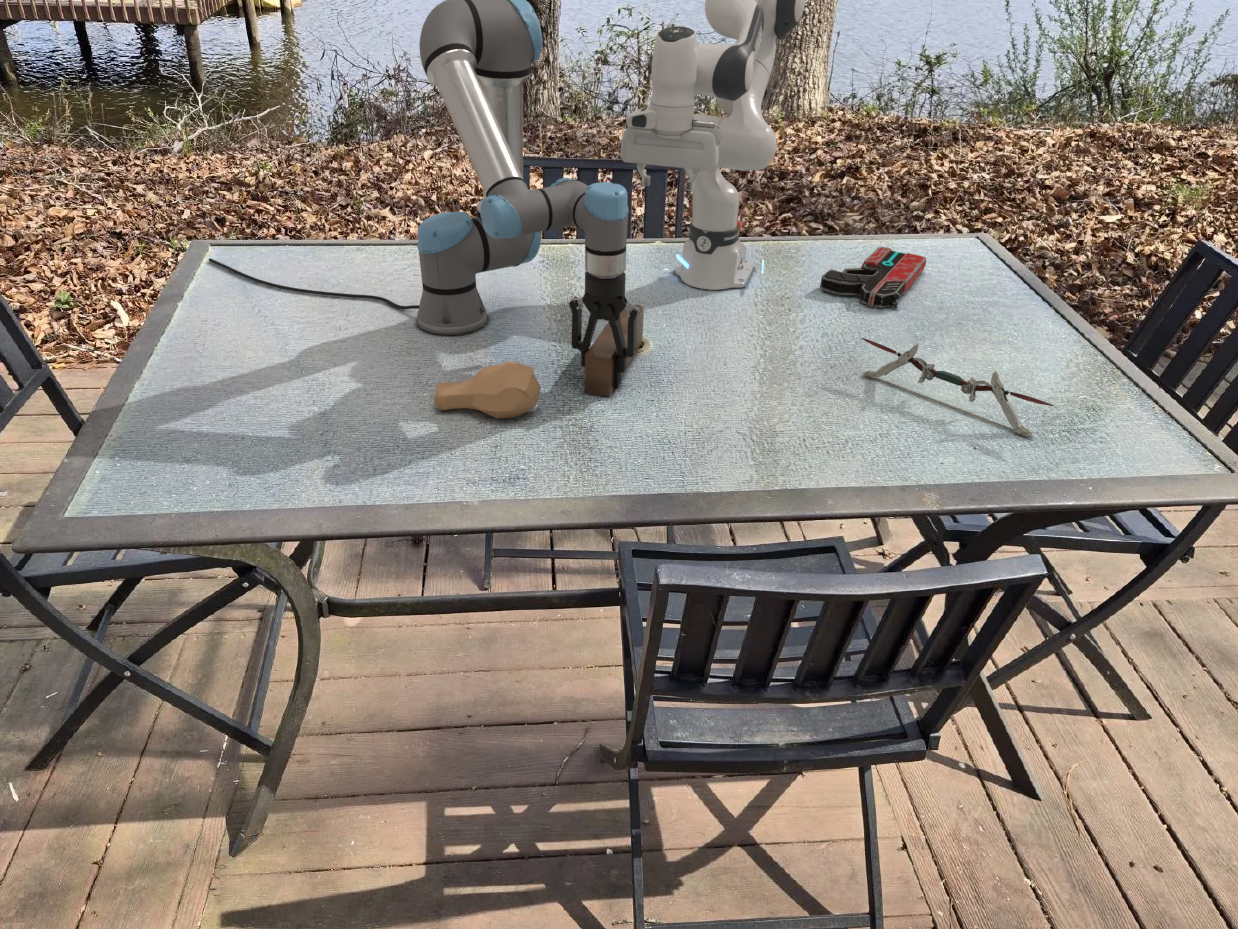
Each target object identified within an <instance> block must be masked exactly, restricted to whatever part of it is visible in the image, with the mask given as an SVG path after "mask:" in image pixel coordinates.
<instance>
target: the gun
mask: <svg viewBox="0 0 1238 929" xmlns="http://www.w3.org/2000/svg"><path fill="white" fill-rule="evenodd" d="M926 266H927V257H925V256H923V255H919V254H914V253H910V252H906V253H905V252H901V251H896V250H892V248H891V247H886V246H878V247H877V248H876V249H875V250H874V251H873V252H872V253H871V254H870V255H869V256H868V257H866V259H864V261H863V263H862V265H861V266H860V267H854V268H844V269H843V270H842V271H839V270H835V269H832V268H830V269H829V270H828V271H826V272H825V273H824V274H822V275H821V278H820V282H819V283H820V284H819V289H820V290H822V291H824V292H828V293H831V294H835V295H841V296H859V298H858V301H860V302H861V303H862V304H863V305H867V307H870V308H872V307H875V308H879V309H882V308H888V307H889V308H892V309H893V308H894V309H897V308H898V305H899V302H897V301H898V300H899V299H900V298H901V296H904V295H905V294H906V293H907V292H908V291H909V290H910V289H911V288H912V286H913V285H914V284H915V283H916V281H917V280H918V278H920V275H921V274H922V273H923V272H924V270H925V268H926Z"/></svg>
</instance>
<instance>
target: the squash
mask: <svg viewBox="0 0 1238 929" xmlns="http://www.w3.org/2000/svg"><path fill="white" fill-rule="evenodd" d="M541 388H542V387H541V385H540V383H539V381H538V379H537V377H536V375H535V372H534V368H533V367H532V366H529V365H526V364H523V363H520V362H516V361H515V362H514V361H511V360H510V361H506V362H502V363H499V364H495V365H494V364H493V365H489V366H484V367H482V368H481V369H480V370H478V371H477V372H476V374H475V375H473V376H472V377H470V378H469V379H467V380H464V381H457V382H455V381H454V382H437V383H435V392H434V398H433V404H434V405H435V406H436V407H437V408H438V409H439V410H440V411H447V410H453V409H456V410H457V409H471V410H476V411H480V412H482V413H483V414H485V415H488V416H490V417H493V418H494V419H515V418H517V417H519V416H522V415H523V414H525V413H528V412H530V411H531V410H533V409H534V408H535V407H536V405H537V403H538V402H539V397H540V392H541Z"/></svg>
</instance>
